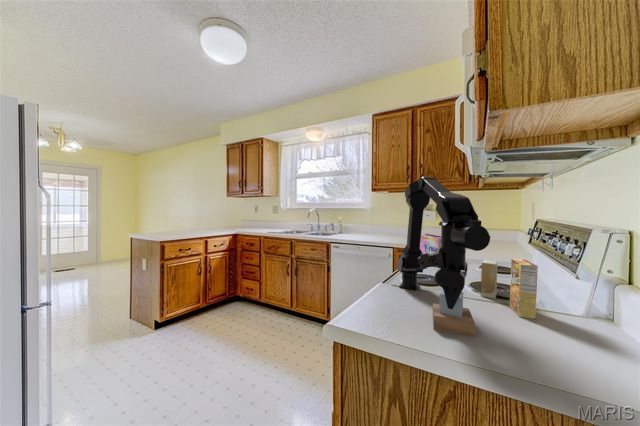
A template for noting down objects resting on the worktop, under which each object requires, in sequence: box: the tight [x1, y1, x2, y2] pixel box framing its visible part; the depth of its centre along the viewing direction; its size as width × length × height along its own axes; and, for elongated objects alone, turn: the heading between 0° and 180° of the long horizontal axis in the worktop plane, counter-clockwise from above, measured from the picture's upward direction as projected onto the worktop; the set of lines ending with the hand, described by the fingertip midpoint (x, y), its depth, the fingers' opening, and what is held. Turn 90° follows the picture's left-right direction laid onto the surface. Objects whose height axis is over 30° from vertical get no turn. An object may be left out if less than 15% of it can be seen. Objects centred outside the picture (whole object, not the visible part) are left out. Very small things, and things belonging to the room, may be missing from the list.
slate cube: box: [439, 288, 464, 317], centre depth 66 cm, size 5×5×5 cm
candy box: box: [509, 258, 539, 320], centre depth 75 cm, size 9×4×15 cm, turn 157°
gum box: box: [420, 233, 441, 254], centre depth 160 cm, size 24×8×14 cm, turn 11°
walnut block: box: [432, 302, 476, 338], centre depth 66 cm, size 9×9×4 cm
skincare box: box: [480, 259, 498, 300], centre depth 89 cm, size 6×4×12 cm
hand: (452, 302), depth 66 cm, fingers open, 9 cm apart
